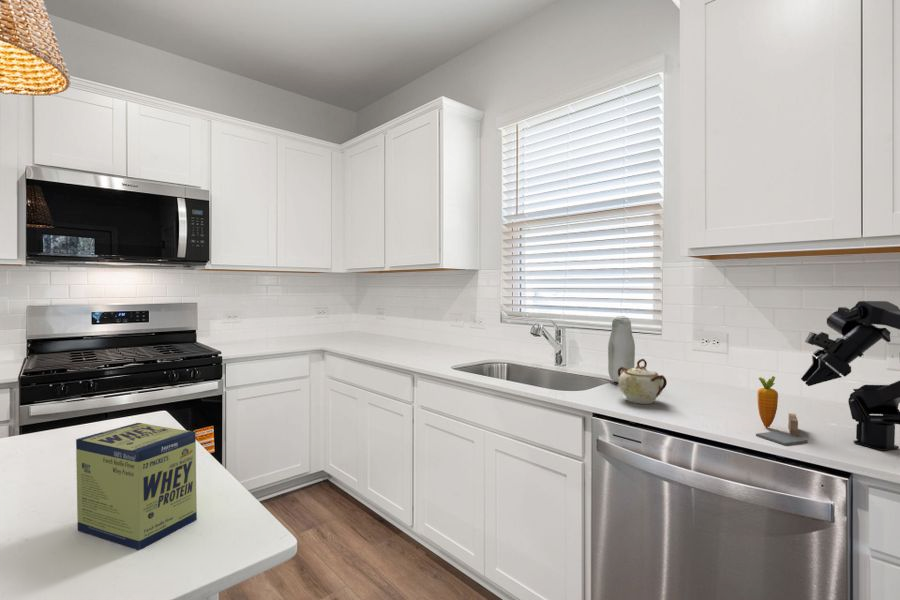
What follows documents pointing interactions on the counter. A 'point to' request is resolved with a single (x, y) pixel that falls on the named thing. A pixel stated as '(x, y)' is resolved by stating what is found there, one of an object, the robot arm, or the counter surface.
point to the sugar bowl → (641, 384)
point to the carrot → (767, 401)
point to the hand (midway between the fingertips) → (804, 382)
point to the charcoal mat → (781, 438)
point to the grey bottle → (620, 347)
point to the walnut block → (793, 424)
